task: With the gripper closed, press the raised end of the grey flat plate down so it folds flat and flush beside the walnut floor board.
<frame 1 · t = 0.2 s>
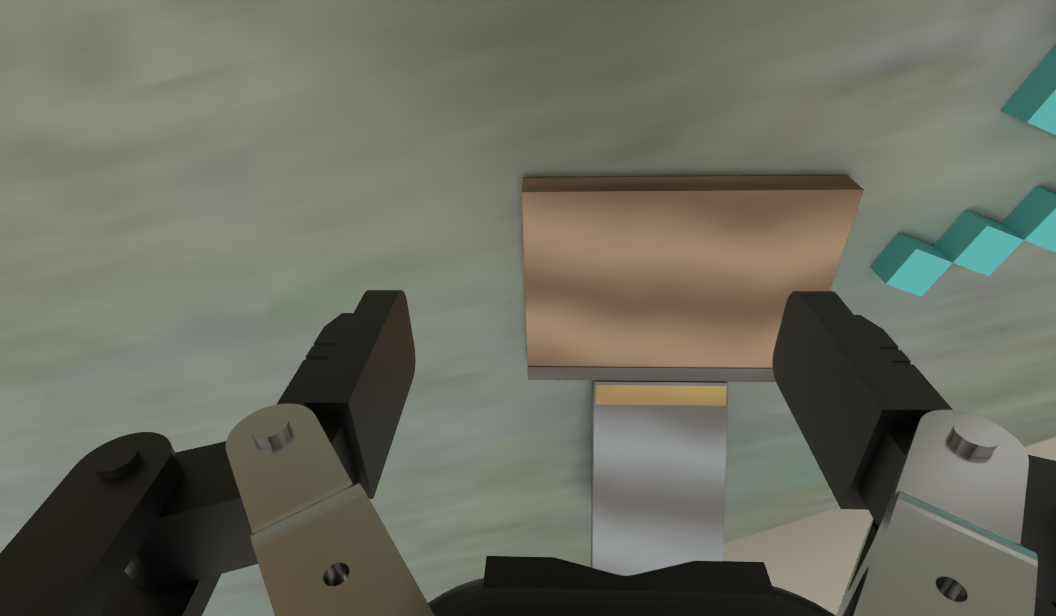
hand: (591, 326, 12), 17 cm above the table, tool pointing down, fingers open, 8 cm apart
laid floor board: (669, 278, 32), on the table
grey flat plate: (656, 489, 35), point 4 cm above the table, hinge at 30.0°
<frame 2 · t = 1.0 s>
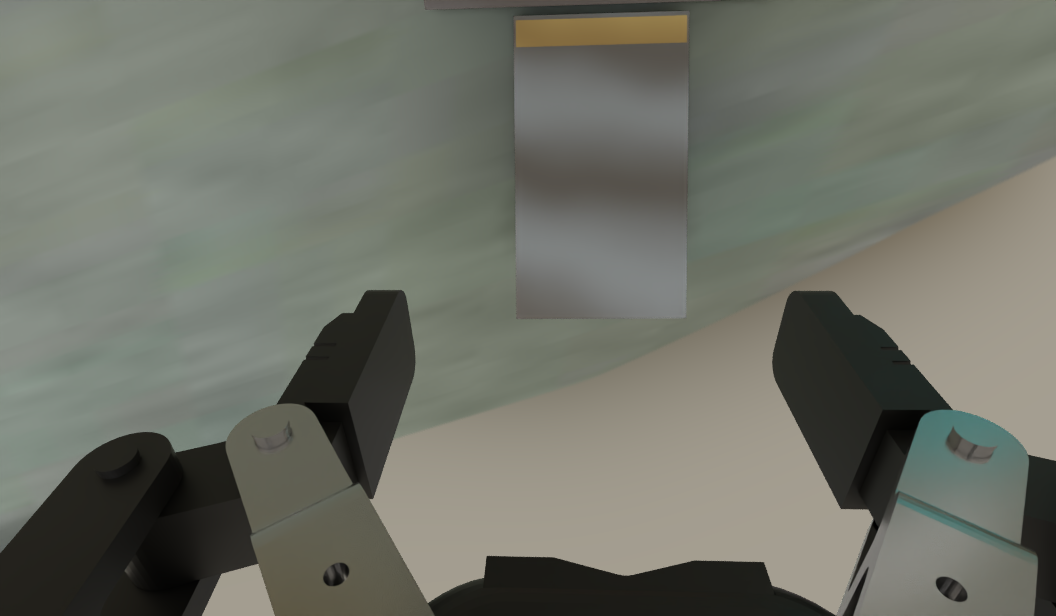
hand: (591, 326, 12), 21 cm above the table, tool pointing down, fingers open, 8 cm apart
grey flat plate: (599, 171, 27), point 4 cm above the table, hinge at 30.0°
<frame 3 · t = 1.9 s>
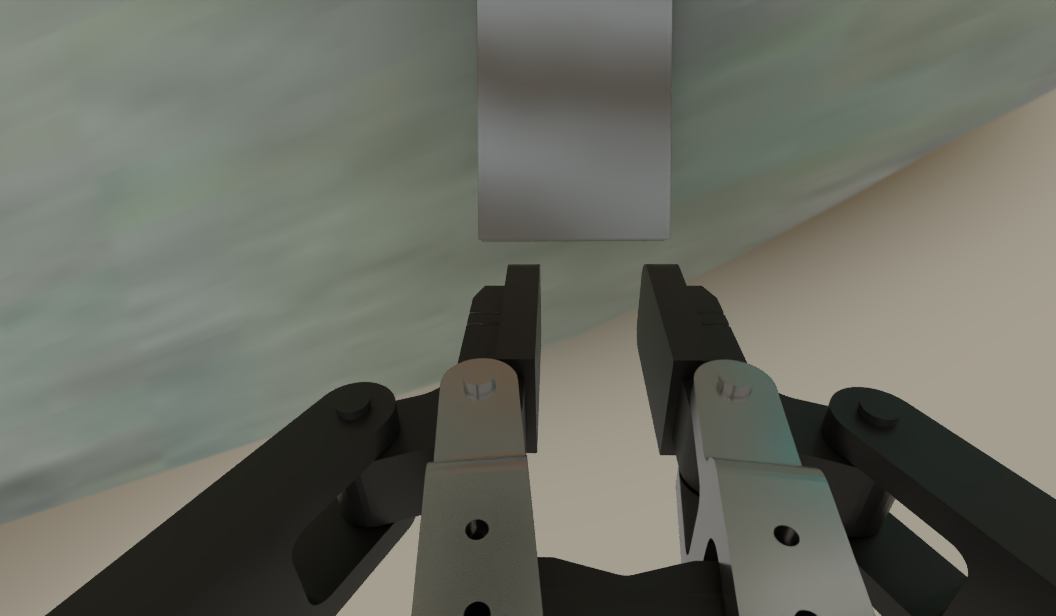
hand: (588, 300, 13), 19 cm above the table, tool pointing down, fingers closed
grey flat plate: (573, 75, 24), point 4 cm above the table, hinge at 30.0°
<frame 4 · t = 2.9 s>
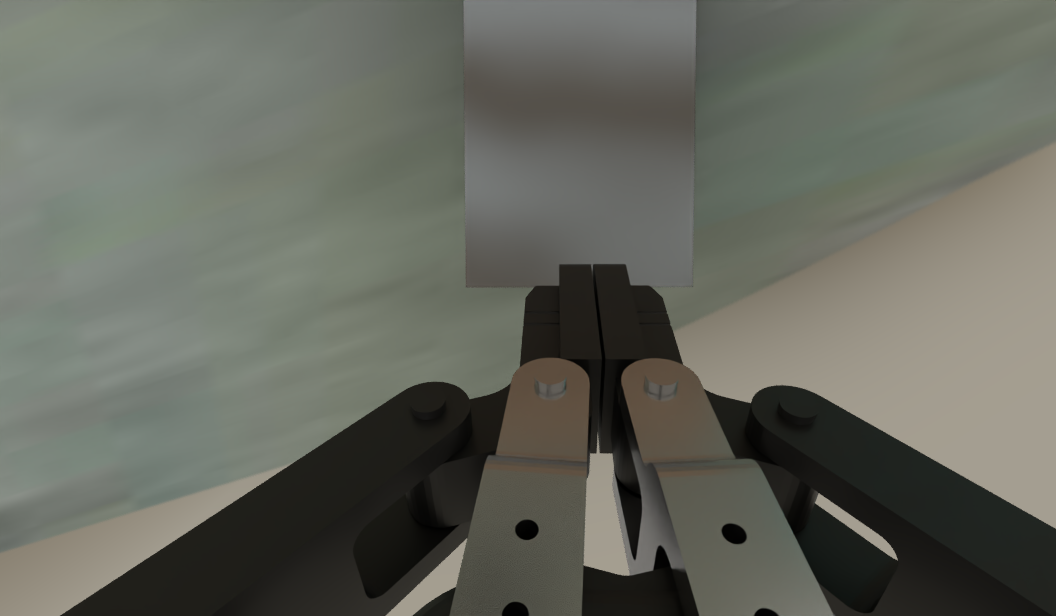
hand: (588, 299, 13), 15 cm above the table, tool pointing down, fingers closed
grey flat plate: (577, 93, 20), point 4 cm above the table, hinge at 30.0°
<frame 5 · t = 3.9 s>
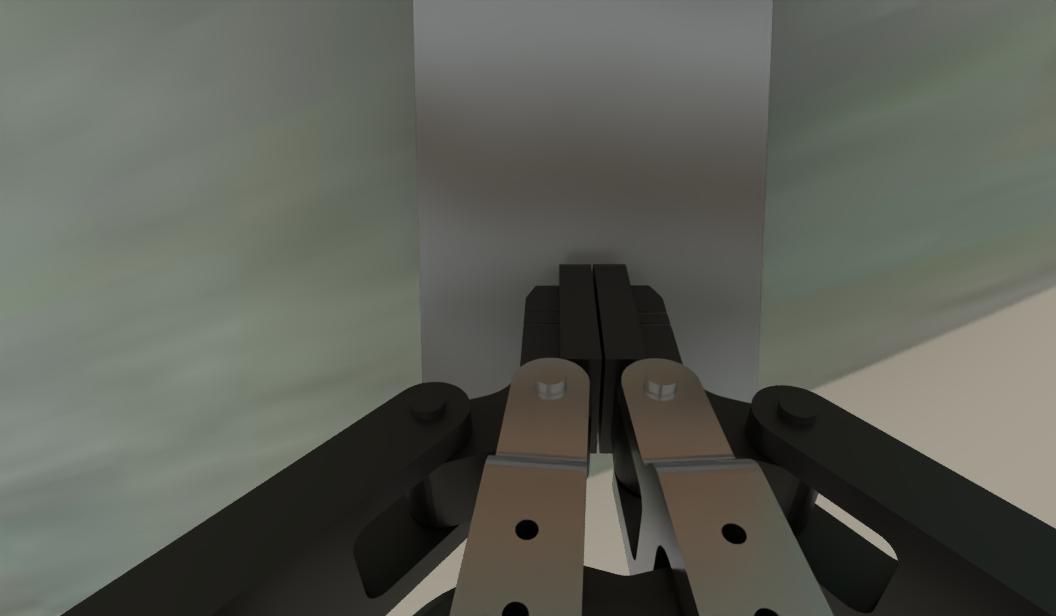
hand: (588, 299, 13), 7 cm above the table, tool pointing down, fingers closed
grey flat plate: (587, 153, 14), point 4 cm above the table, hinge at 26.7°, touching gripper
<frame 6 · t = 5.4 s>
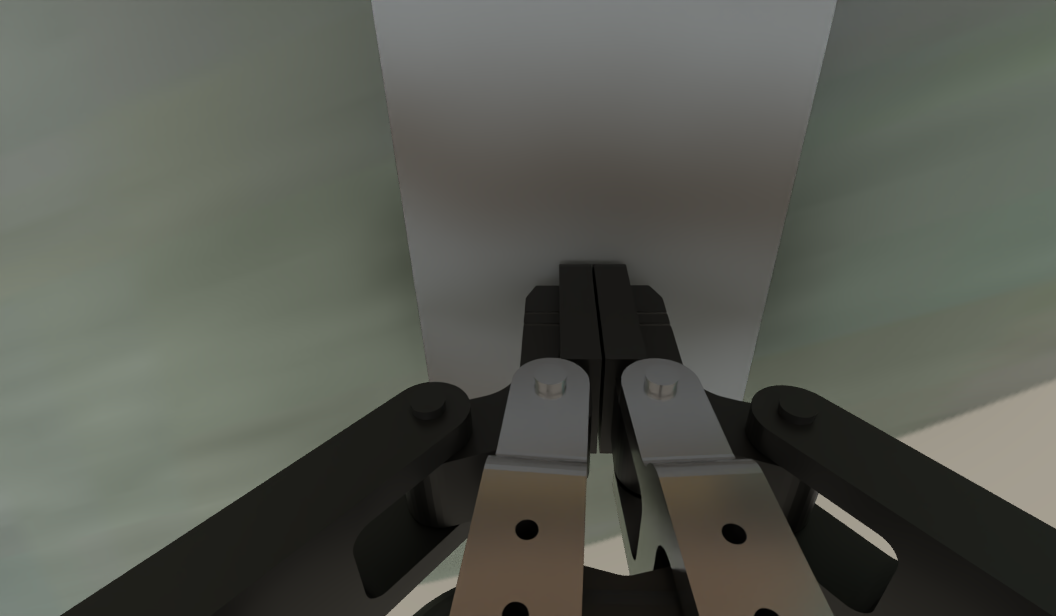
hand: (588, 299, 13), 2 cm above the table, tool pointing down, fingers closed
grey flat plate: (592, 142, 12), point 1 cm above the table, hinge at 0.7°, touching gripper
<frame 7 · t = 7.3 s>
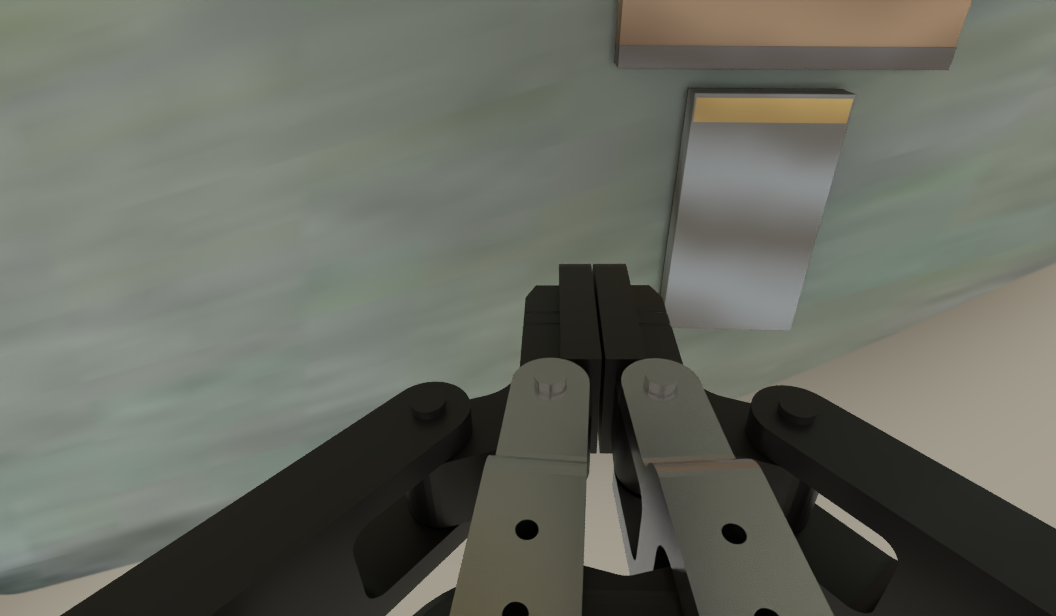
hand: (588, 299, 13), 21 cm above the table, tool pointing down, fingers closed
grey flat plate: (743, 219, 33), point 1 cm above the table, hinge at 0.7°
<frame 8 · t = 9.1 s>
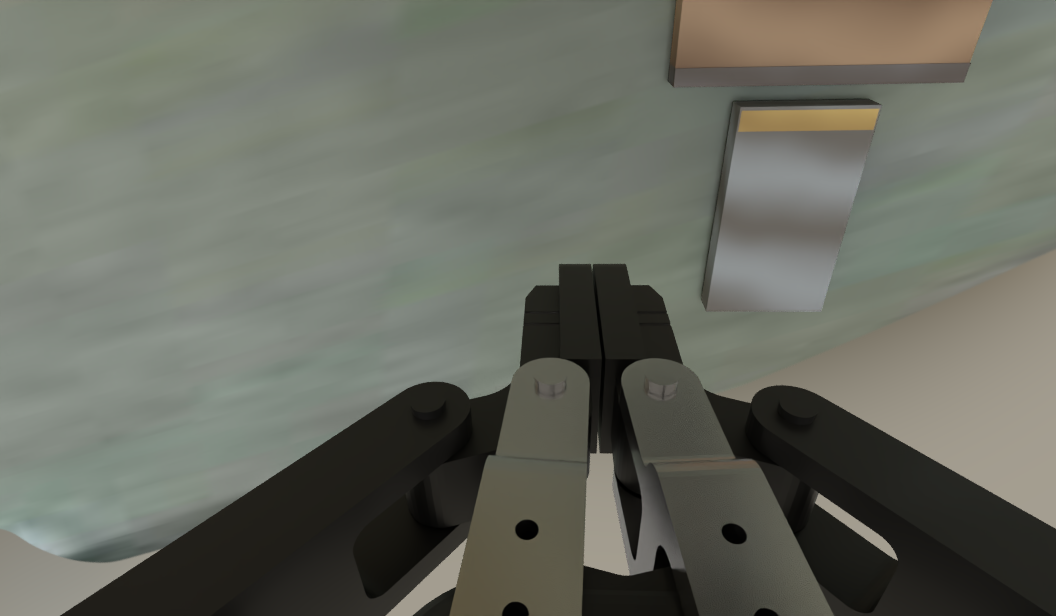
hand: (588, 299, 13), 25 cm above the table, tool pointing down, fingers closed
grey flat plate: (780, 214, 37), point 1 cm above the table, hinge at 0.7°
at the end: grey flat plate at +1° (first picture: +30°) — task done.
